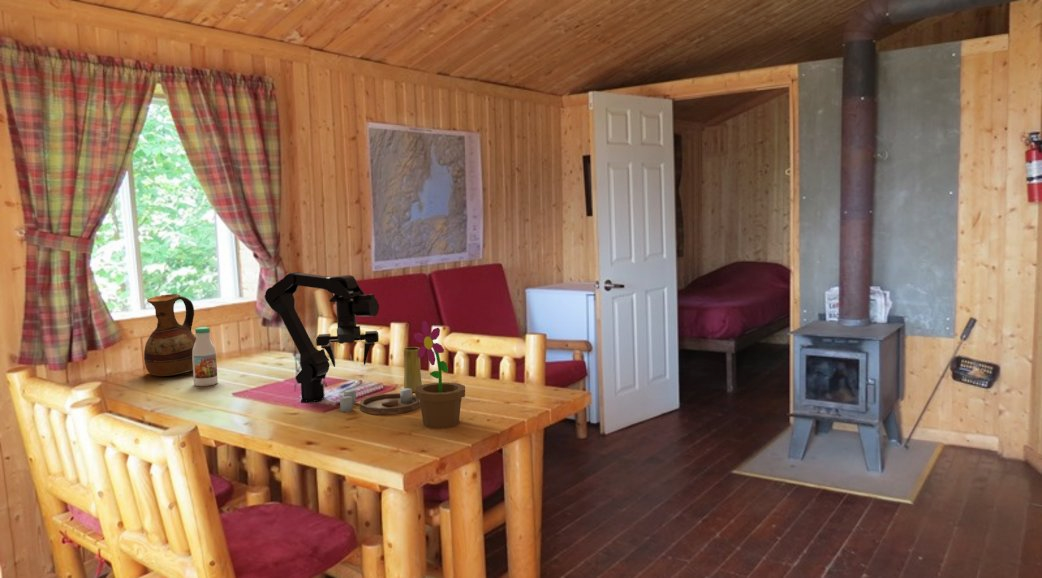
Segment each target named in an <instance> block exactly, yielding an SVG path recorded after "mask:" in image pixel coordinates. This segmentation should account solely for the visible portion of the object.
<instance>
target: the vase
mask: <svg viewBox="0 0 1042 578" xmlns="http://www.w3.org/2000/svg"><path fill="white" fill-rule="evenodd" d="M419 349H420V347H419V346H418V347H417V346H409V347H404V348H403V358H404V359H403V364H404V365H403V368H404V369H403V371H404V372H403V373H404V375H403V386H404V387H403V389H404V388H410V389H412V394H413V393H415V390H416V387H418V386H421V385H423V384H422V383H423V381H422V372H421V357H420V358H419V357H418V350H419Z"/></svg>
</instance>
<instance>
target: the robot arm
mask: <svg viewBox="0 0 1042 578" xmlns="http://www.w3.org/2000/svg"><path fill="white" fill-rule="evenodd" d="M299 287H306V288H307V287H308V288H313V289H320V290H325V291H327V292H328V293H331V294H333V296H332V297H331V298H330V299H329V302H330V303H335V306H336V310H335V311H336V320H337V323H336V325H337V328H336V335H331V333H323V334H322V333H321V334H319V333H318V334H319V335H317V336H316V338H315V345H316V347H320V350H319V349H317V348H316V347H315V346H314V344H313V342H312V340H311V338H310V336H309V334H308V332H307V330H306V329H305V327H304V324H303V323H302V321H301V319H300V316H299V315H298V313H297V311H296V309H295V300H296V299H295V296H294V294H295V293H296V292H297V291H298V289H299ZM264 300H265V301H266V303H267V305H268V306H269V307H270V309H271V310H273V311H274V312H275V313H277V314H278V315H279V316H280V318H281V320H282V322H283V324H284V325H285V328H286V329H287V331H288V333H289V336H290V337H291V339H292V341H293V343H294V345H295V347H296V349H297V350H298V352H299V356H300V357H299V364H300V368H301V370H300V371H299V372H298V373H297V375H296V376H295V380H296V382H297V384H300V391H301V392H300V393H301V399H300V403H309V402H310V403H311V402H322V401H323V399H324V398H325V384H324V383H323V379H324V380H325V379H326V376H327V374H328V372H329V370H330V362H329V361H330V360H331V364H332V367H334V368H335V367H336V358H335V353H334V347H333V346H334V345H333V343H338V344H340V345H341V344H343V345H344V344H353V343H355V341H364V350H363V365H364V366H365V365H366V363H367V358H368V354H369V352H370V348H371V346H374V345H375V343H378V342H380V341H379V340H380V337H379V332H378V331H377V330H368V331H365V333H363V334H361V326H360V325H357V317H376V316H377V315H378V314H379V310H380V304H379V301H378V299H377V298H376V297H375V294H374V293H370V294H365V293H364V291H363V290H362V288H361V287H360V286H359V284H358V283H357V280H356V278H355V276H353V275H352V274H347V275H346V274H344V275H335V276H332V275H331V276H327V275H321V274H311V273H304V272H300V271H293V272H288V273H287V274H286V275H285V276H284V277H283V278H282V279H280V280H279V281H278V282H276V283H275V284H274V285H272V286H271V287H268V288H267V289H266V291H265V295H264ZM326 352H327V354H326ZM327 355H328V356H329V358H330V359H329V358H328V357H327ZM322 398H323V399H322ZM321 400H322V401H321Z"/></svg>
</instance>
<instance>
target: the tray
mask: <svg viewBox="0 0 1042 578" xmlns="http://www.w3.org/2000/svg"><path fill="white" fill-rule="evenodd" d="M419 408H421V406H420V400H419V399H417V398H415V394H412V403H409V404H402V403H401V397H400V393H398V392H396V393H392V392H391V393H381V394H375V395H370V396H367V397H365V398H363V399H360V401H359V410H360V411H361V412H362V413H365V414H370V415H376V416H377V415H379V416H380V415H381V416H388V415H390V416H392V415H401V414H405V413H409V412H412V411H415V410H417V409H419Z"/></svg>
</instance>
